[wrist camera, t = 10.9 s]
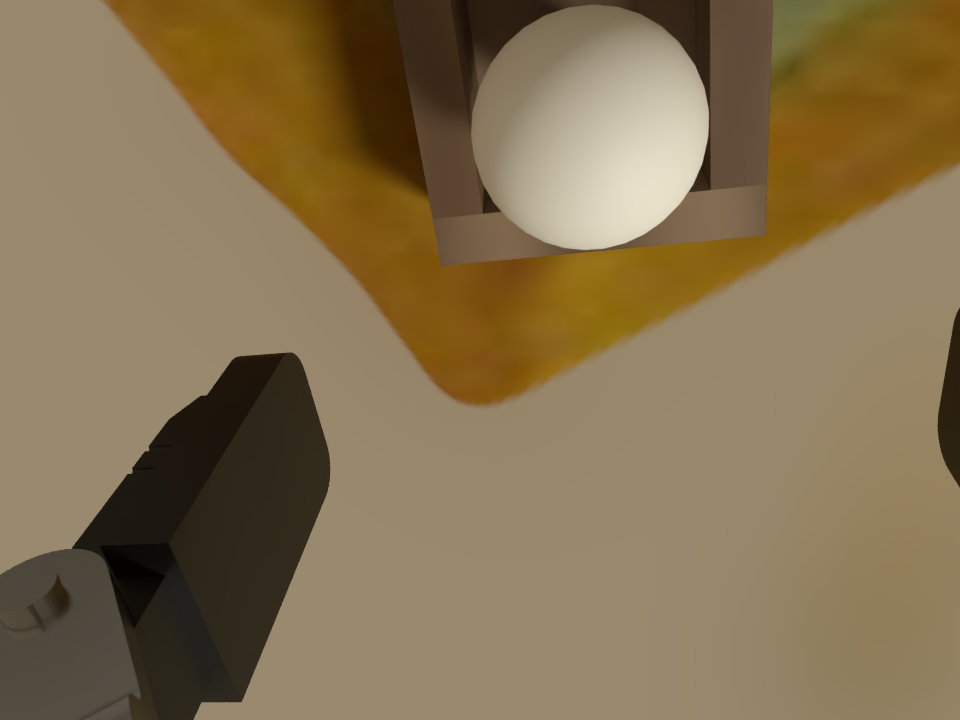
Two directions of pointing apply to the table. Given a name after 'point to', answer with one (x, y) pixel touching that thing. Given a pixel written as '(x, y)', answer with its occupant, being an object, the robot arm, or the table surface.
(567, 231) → the lightbulb
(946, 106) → the table surface
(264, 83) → the table surface
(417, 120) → the socket block
